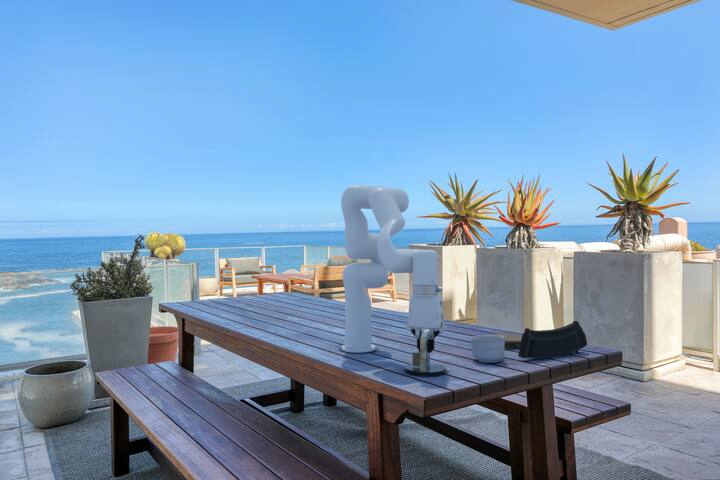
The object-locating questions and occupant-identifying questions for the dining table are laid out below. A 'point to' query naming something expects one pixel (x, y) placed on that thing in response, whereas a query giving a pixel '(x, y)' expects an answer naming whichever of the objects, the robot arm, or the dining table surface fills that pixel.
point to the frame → (422, 352)
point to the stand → (431, 370)
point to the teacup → (488, 348)
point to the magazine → (552, 342)
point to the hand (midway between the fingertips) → (425, 351)
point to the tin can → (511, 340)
